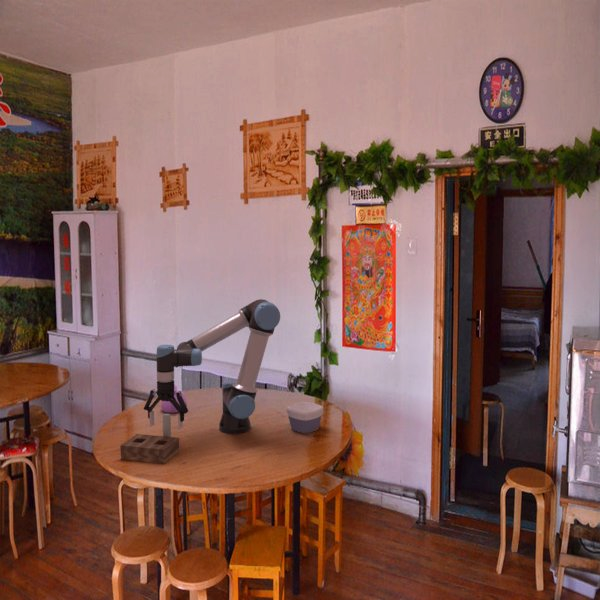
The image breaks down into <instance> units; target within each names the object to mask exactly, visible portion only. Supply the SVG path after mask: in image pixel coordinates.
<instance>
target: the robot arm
mask: <svg viewBox="0 0 600 600" xmlns="http://www.w3.org/2000/svg"><path fill="white" fill-rule="evenodd" d="M280 320H281V312H280V310H279V308H278V307H277V306H276V305H275V304H274V303H273V302H270V301H268V300H266V299H263V298H262V299H256V300H254V301H252V302H250V303H248V304H247V305H245V306H243V307H242V308H240V309H239V310H238V312H237V313H235V314H234V315H232V316H230V317H228V318H227V319H225V320H223V321H220V323H218V324H215V325H214V326H212V327H210V328H209V329H207V330H205V331H203V332H202V333H200V334H198V335H197V336H194V337H193V338H191V339H189V340H187V341H182V342H180V343H178V345H177V346H176V348H175V347H174V345H173V344H160V345H158V346H157V347H156V380H157V381H156V389H154V388H153V389H151V390H150V392H149V396H148V397H147V398H148V399H147V400H146V403H145V404H144V407H143V410H144V411H147V417H148V418H147V419H149V427H153V426H154V425H155V410H154V409H155V407H156V406H157V405H158V404H159V403H160V401H161V402H162V401H167V402H168V401H170V403H172V404H173V406H174V407H175V408H176V410H177V411H178V412H177V413H178V414H177V425H178V426H177V429H178V430H181V429H182V428H183V422H184V421H185V415H187V413H189V409H188V406H187V407H186V404H185V402H184V400H183V398H182V395H181V390H178V391H179V392H175V391H174V386H175V368H176V367H196V366H201V365H202V362H203V355H202V352H204V351H206V350H207V349H208V348H211V347H213V346H215V345H216V344H218V343H220V342H222V341H223V340H225V339H227V338H229V337H230V336H232V335H234V334H236V333H238V332H239V331H241V330H243V329H245V328H248V329H249V332H250V333H249V337H248V339H247V344H246V348H245V351H244V355H243V358H242V362H241V365H240V368H239V373H238V375H237V376H238V377H237V380H229V381H225V382H223V383H222V387H221V390H222V414H221V418H220V420H219V425H218V429H219V431H220V432H223V433H225V434H241V433H247V432H248V431H250V430H251V429H252V425H251V424H252V423H251V420H250V418H249V417H250V416H252V415H253V413H254V412H255V410H256V402H255V400H256V397H257V392H258V390H257V389H256V383H257V380H258V376H259V373H260V369H261V365H262V363H263V359H264V355H265V353H266V352H265V351H266V348H267V345H268V342H269V339H270V338H269V337H271V336H272V335H274V332H275V330H276V329H275V328H276V327H277V326H278V325H279V324H280ZM155 395H156V396H157V398H156V399H155V400H154V401H153V399H154V398H155ZM174 395H175V396H176V397H177V400H178V402H179V404H180V405H179V404H178V402H177V401H176V399H175V397H174ZM152 401H153V403H152ZM151 403H152V404H151Z"/></svg>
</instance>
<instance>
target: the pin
mask: <svg viewBox="0 0 600 600" xmlns="http://www.w3.org/2000/svg"><path fill="white" fill-rule="evenodd" d="M171 419H172V418H171V413H164V414H162V436H165V437H172V422H171Z"/></svg>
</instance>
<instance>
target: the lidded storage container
mask: <svg viewBox="0 0 600 600" xmlns="http://www.w3.org/2000/svg"><path fill="white" fill-rule="evenodd" d="M323 412H324V407H323V406H322V405H321V404H318V403H313V402H309V401H300V402H299V401H298V402H295V403H292V404H290V405H288V406H287V407H286V413H287V416H288V420H289V425H290V429H291V430H292V431H295V432H296V431H297V432H296V433H300V432H301V433H300V434H305V433H306V434H311V433H313V431H314V432H315V431H317V430H318V429H319V427H320V424H321V420H322V415H323ZM310 432H311V433H310Z"/></svg>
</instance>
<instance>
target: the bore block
mask: <svg viewBox="0 0 600 600" xmlns="http://www.w3.org/2000/svg"><path fill="white" fill-rule="evenodd" d="M119 446H120V459H121V460H124V461H125V460H126V461H127V460H128V461H135V462H144V463H145V462H146V463H156V464H163V465H164V464H166V463H167V462H169V461H170V460H171V459H172V458H173V457H174V456H175V455H176V454H178V453H179V452H180V437H177V436H176V437H175V436H174V437H172V436H171V437H165V436H163V435H152V434H151V435H150V434H141V433H140V434H139V433H136V434H135V435H133V436H132V437H130V438H129V439H127V440H126V441H125V442H123V443H122V444H120V445H119Z"/></svg>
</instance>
